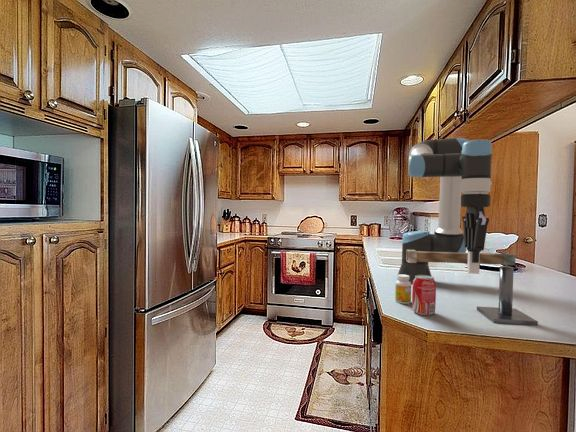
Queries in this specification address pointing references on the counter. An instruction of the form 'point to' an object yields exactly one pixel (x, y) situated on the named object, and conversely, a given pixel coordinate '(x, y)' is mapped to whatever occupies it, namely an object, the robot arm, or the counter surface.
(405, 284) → the supplement bottle
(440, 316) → the counter surface
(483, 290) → the counter surface
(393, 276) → the counter surface
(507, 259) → the swing arm
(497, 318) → the post
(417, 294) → the soda can
